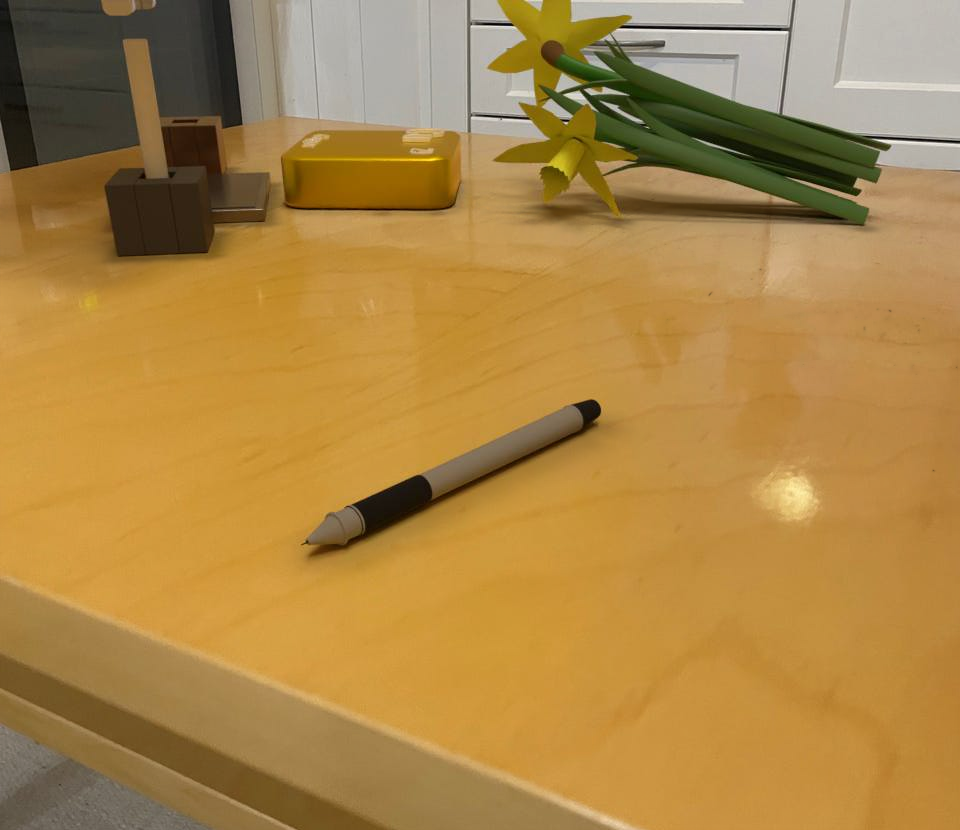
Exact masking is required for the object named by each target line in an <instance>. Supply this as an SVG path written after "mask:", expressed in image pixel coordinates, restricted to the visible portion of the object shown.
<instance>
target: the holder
mask: <svg viewBox="0 0 960 830" xmlns="http://www.w3.org/2000/svg"><path fill="white" fill-rule="evenodd" d="M167 169H168V175H169V178H153V179H146V175H145V169H144V167H126V168H125V167H124V168H123V167H122V168H121V167H120V168H118V169H117V171H115V173H114V174H113V175H112V176H111V177H110V178H109V179H108V180H107V181H106V183H105V184H104V185H103V189H104V193H105V199H106V204H107V210H108V214H109V219H110V225H111V230H112V235H113V240H114V245H115V251H116V255H117V257H127V256H129V257H131V256H152V255H154V256H155V255H178V254H197V253H200V254H201V253H208V251H209V248H210V245H211V243H212V240H213V237H214V234H215V231H216V229H215V223H213V215H212V208H211V201H210V194H209V187H208V179H207V172H206V167H205V166H188V167H167Z"/></svg>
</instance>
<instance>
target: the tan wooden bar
mask: <svg viewBox="0 0 960 830" xmlns="http://www.w3.org/2000/svg"><path fill="white" fill-rule="evenodd" d="M122 44H123V51H124V57H125V62H126V68H127V75H128V80H129V85H130V91H131V98H132V104H133V109H134V116H135V121H136V122H135V123H136V127H137V133H138V138H139V145H140V150H141V156H142V162H143V168H144V169H145V175H146V179H153V178H169V175H168V169H167V163H166V156H165V150H164V144H163V137H162V131H161V125H160V118H159V117H160V113H159V112H160V111H159V106H158V101H157V93H156V88H155V87H156V86H155V81H154V76H153V69H152V62H151V56H150V49H149V43H148V39H147V38H125V39H122Z"/></svg>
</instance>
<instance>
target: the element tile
mask: <svg viewBox="0 0 960 830" xmlns="http://www.w3.org/2000/svg"><path fill="white" fill-rule="evenodd" d="M280 164H281V174H282V184H283V195H284V202H285V204H286V205H287V206H289V207H291V208H296V209H321V210H322V209H324V210H325V209H327V210H328V209H329V210H330V209H332V210H333V209H334V210H335V209H336V210H337V209H338V210H339V209H341V210H342V209H343V210H351V209H352V210H441V209H445V208H449V207H451V206H453V204H454V203H455V201H456V197H457V193H458V189H459V185H460V182H461V179H462V137H461V136H460V134H459V133H457V131H454V130H444V129H442V128H436V127H435V128H433V127H418V128H409V129H406V130H367V129H366V130H365V129H364V130H359V129H358V130H351V129H350V130H349V129H347V130H346V129H343V130H342V129H337V130H336V129H334V130H333V129H331V130H330V129H326V130H325V129H324V130H323V129H321V130H320V129H319V130H314V131H312V132H310V133H307V134H305V135H304V136H303V137H302V138H301V139H300V140H298V141H297V142H296V143H295V144H294V145H292V146H291V147H289V148H288V150H286V151H285V152H284V153H282V154H281V155H280Z"/></svg>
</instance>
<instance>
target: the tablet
mask: <svg viewBox="0 0 960 830" xmlns="http://www.w3.org/2000/svg"><path fill="white" fill-rule="evenodd" d="M207 179H208V187H209V194H210V201H211V208H212V215H213V223H214V224H219V223H221V224H223V223H245V222H248V223H249V222H250V223H251V222H265V220H266V215H267V209H268V208H267V207H268V202H269V197H270V195H269V194H270V189H271V184H272V181H271V173H270V172H269V171H265V172H264V171H262V172H230V173H224V174H207Z"/></svg>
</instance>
